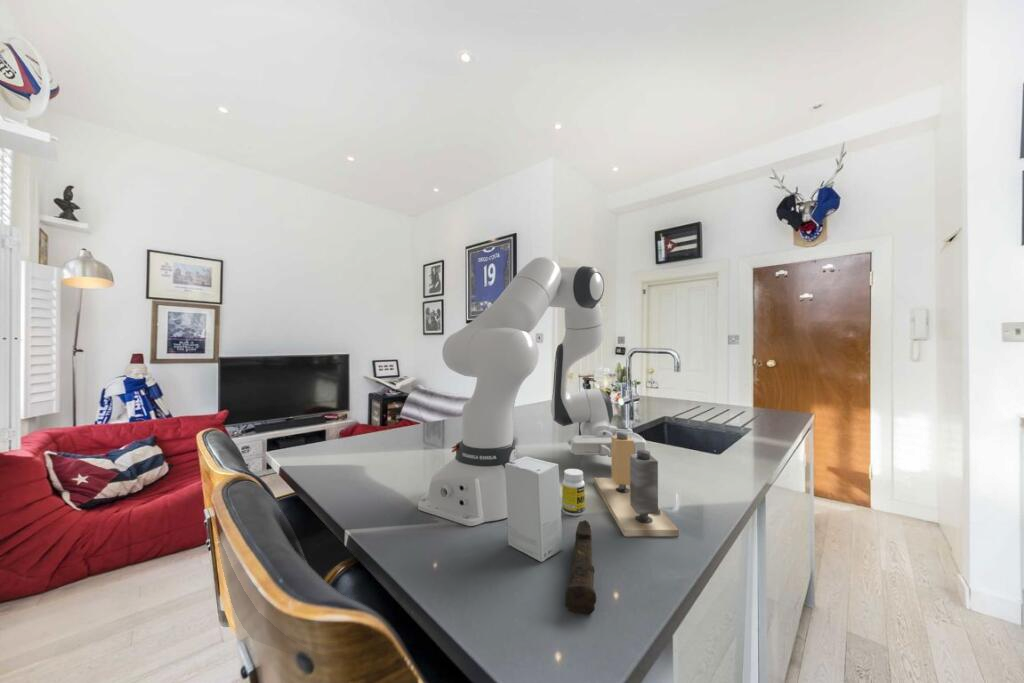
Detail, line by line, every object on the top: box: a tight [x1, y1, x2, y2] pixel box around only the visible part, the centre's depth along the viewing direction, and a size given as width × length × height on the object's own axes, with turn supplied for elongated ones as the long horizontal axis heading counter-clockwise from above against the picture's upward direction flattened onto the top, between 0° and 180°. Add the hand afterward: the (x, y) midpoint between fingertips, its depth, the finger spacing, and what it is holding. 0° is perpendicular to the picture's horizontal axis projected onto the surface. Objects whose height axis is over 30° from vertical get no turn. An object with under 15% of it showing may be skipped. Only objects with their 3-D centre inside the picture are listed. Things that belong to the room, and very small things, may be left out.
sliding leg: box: [611, 432, 634, 490], centre depth 86 cm, size 4×4×13 cm
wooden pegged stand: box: [593, 450, 680, 537], centre depth 81 cm, size 10×26×14 cm, turn 0°
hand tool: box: [564, 520, 597, 615], centre depth 58 cm, size 19×4×5 cm, turn 165°
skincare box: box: [505, 456, 563, 563], centre depth 65 cm, size 8×6×15 cm
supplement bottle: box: [561, 468, 586, 517], centre depth 78 cm, size 5×5×8 cm
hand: (614, 454), depth 94 cm, fingers closed
